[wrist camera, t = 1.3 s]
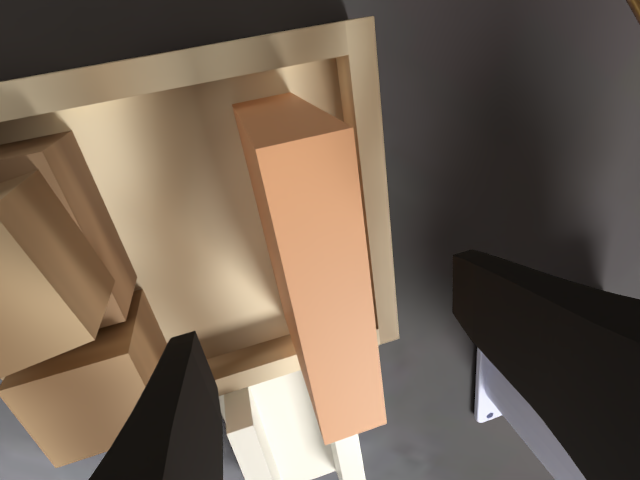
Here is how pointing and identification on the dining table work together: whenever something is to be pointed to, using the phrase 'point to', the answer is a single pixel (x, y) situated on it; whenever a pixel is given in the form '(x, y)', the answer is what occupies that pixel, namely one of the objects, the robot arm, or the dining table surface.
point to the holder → (284, 434)
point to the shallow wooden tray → (213, 176)
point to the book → (635, 8)
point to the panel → (317, 254)
